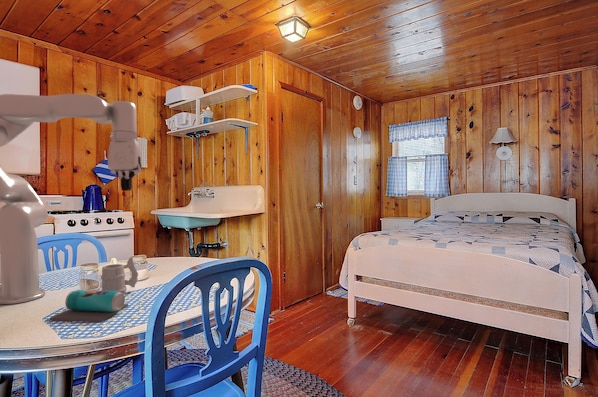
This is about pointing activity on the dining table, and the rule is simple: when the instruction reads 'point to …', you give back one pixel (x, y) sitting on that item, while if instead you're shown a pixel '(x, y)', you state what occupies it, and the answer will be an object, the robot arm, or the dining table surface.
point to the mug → (118, 277)
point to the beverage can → (95, 300)
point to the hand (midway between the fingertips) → (126, 190)
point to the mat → (84, 315)
